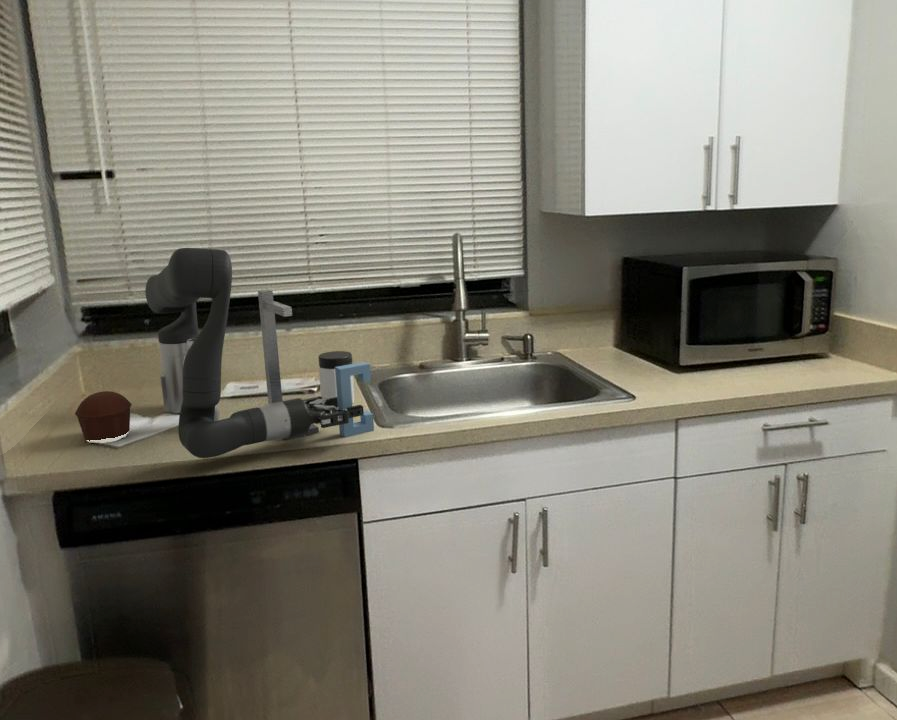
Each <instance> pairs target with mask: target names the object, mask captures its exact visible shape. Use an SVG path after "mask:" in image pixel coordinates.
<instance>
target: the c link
mask: <svg viewBox="0 0 897 720" xmlns="http://www.w3.org/2000/svg"><path fill="white" fill-rule="evenodd" d="M371 374H372V373H371V364H370V363H368V362H366V361H361V362H357V363H353V364H349V365H344V366H338V367H335V375H336V389H337V403H338V407H337V408H347V407H352V406H353V404H352V395H351V380H350V376H353V377H354V376H356V375H357V380H358V381H359V382H362V383H363V384H364V383H369V382H371V381H372V376H371ZM338 417H342V415H340V416H338ZM374 425H375V424H374V413H372V412H370V411H368V410H367V411H364V414H363V415H362V416H360V421H356V422H354V417H353V418H349V423H347V424H341V425H338V427H339V435H340V434H341V435H340V436H342V437H344V438H349V437H352V436H356V435H360V434H364V433H365V432H366V433H369V431H370V432H373V430H374V431H375V426H374ZM366 433H365V434H366Z"/></svg>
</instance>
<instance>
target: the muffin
mask: <svg viewBox="0 0 897 720" xmlns="http://www.w3.org/2000/svg"><path fill="white" fill-rule="evenodd" d="M131 408H132V403H131V402H130V401H129V400H128V399H127V398H126V397H125V396H124V395H122V394H121V393H119V392H115V391H98V392H95V393H92V394H90V395H88V396H86V397H85V398H84V399H83V400H82V401H81V402H80V404H79V405H78V407H77V409H76V410H75V412H74V415H75V417H77V420H78V423H79V427H80V429H81V432H82V435H83V437H84V441H85V440H89V441H90V440H101V439H106V438H115V437H118V436H121V435H124V434H126V433H127V432H128V431H129V430H130V429H131V428H130V425H131V424H130V423H131Z"/></svg>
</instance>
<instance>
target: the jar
mask: <svg viewBox="0 0 897 720" xmlns="http://www.w3.org/2000/svg"><path fill="white" fill-rule="evenodd" d="M353 361H354V360H353V354H352V353H351V352H349V351H343V350H335V351H327V352H323V353H320V354H319V355H318V366H319V368H318V374H319V386H320V387H319V388H320V396H322V399H323V398H328V399H329V398H334V397H337V389H336V375H335V367H338V366H344V365H349V364H354V363H353ZM354 379H355V378H354V375H353V376H350V380H351V395H352V405H353V404H354V403H355V397H356V395H355V394H356V393H355V381H354Z"/></svg>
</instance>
